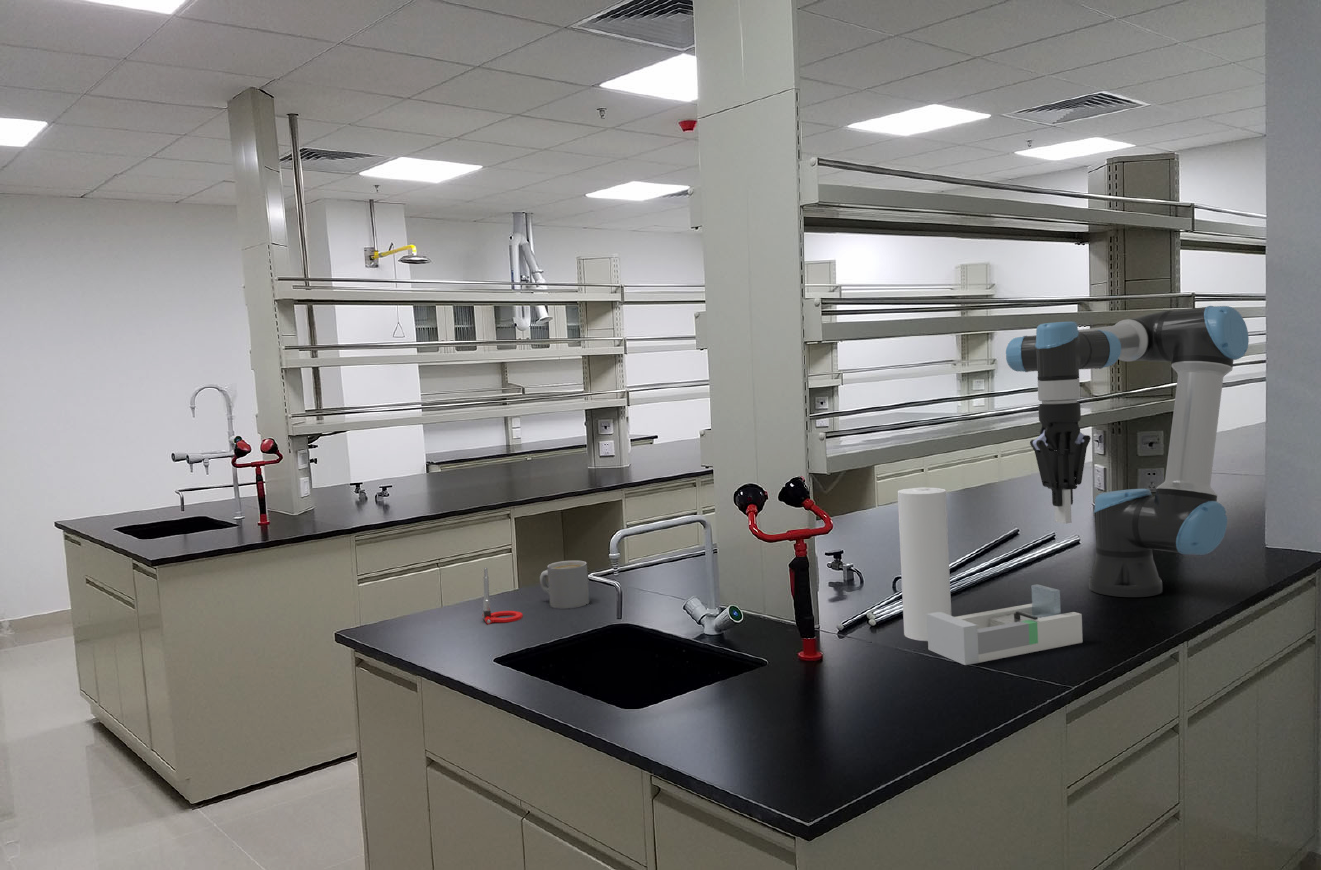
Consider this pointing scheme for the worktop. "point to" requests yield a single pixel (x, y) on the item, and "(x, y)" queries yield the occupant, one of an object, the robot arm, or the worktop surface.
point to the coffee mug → (566, 584)
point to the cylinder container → (923, 557)
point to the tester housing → (999, 634)
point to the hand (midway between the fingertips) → (1063, 522)
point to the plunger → (1034, 606)
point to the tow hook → (490, 616)
